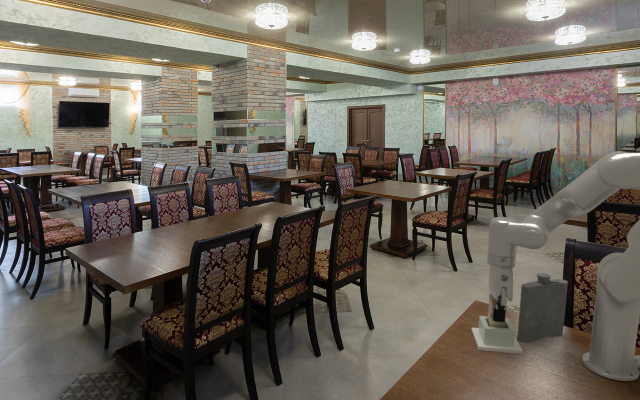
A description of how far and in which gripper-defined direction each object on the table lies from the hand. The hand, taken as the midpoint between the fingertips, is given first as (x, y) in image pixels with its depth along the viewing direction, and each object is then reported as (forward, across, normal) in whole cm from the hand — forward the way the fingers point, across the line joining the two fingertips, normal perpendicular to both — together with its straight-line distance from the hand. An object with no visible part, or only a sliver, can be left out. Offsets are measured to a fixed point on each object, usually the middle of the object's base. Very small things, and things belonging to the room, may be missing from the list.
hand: (497, 317), depth 122 cm
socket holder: (+8, 0, 0) cm, 8 cm away
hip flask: (+8, +6, -14) cm, 17 cm away
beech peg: (+5, 0, 0) cm, 5 cm away
